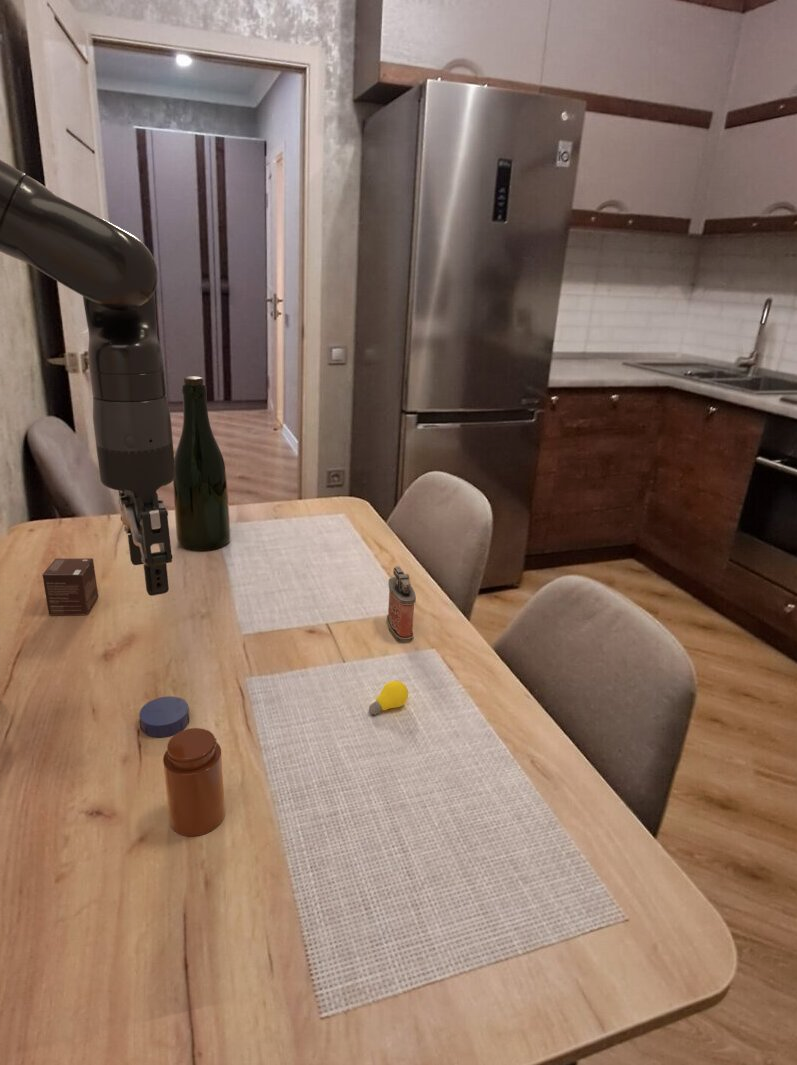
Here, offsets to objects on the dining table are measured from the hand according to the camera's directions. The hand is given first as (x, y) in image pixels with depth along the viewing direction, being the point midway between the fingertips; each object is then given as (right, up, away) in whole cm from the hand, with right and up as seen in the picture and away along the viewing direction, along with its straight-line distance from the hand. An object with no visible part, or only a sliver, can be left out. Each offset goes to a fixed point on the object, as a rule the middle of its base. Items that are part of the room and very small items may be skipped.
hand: (149, 577), depth 76 cm
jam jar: (+7, -25, -6) cm, 26 cm away
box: (-24, -7, +33) cm, 41 cm away
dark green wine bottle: (-11, +3, +59) cm, 60 cm away
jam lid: (-1, -17, +7) cm, 19 cm away
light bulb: (+27, -18, +12) cm, 35 cm away
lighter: (+29, -11, +31) cm, 43 cm away
